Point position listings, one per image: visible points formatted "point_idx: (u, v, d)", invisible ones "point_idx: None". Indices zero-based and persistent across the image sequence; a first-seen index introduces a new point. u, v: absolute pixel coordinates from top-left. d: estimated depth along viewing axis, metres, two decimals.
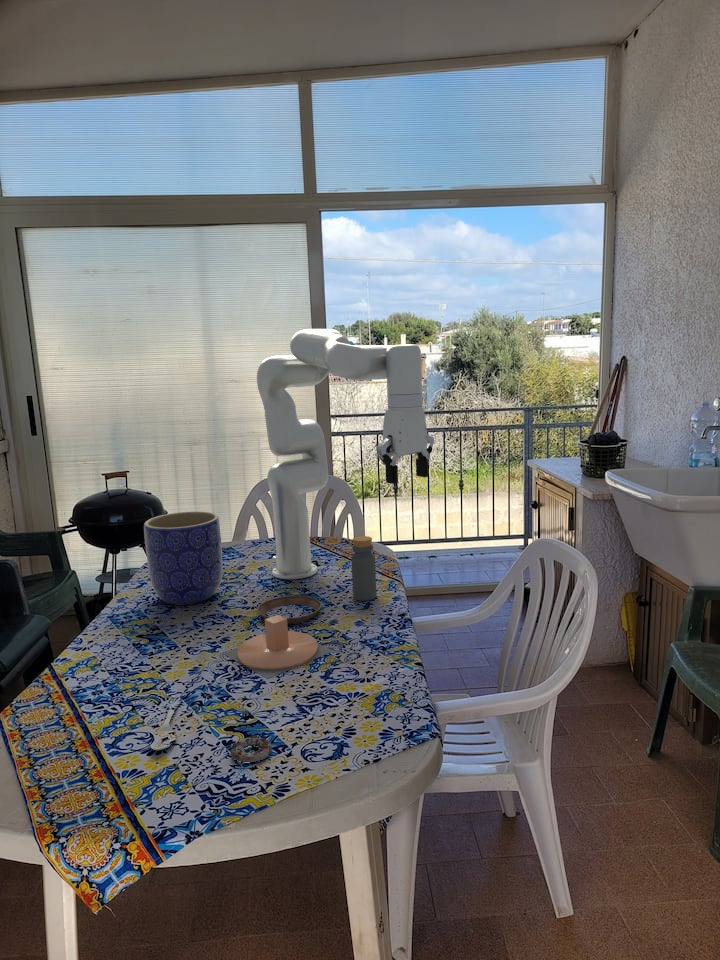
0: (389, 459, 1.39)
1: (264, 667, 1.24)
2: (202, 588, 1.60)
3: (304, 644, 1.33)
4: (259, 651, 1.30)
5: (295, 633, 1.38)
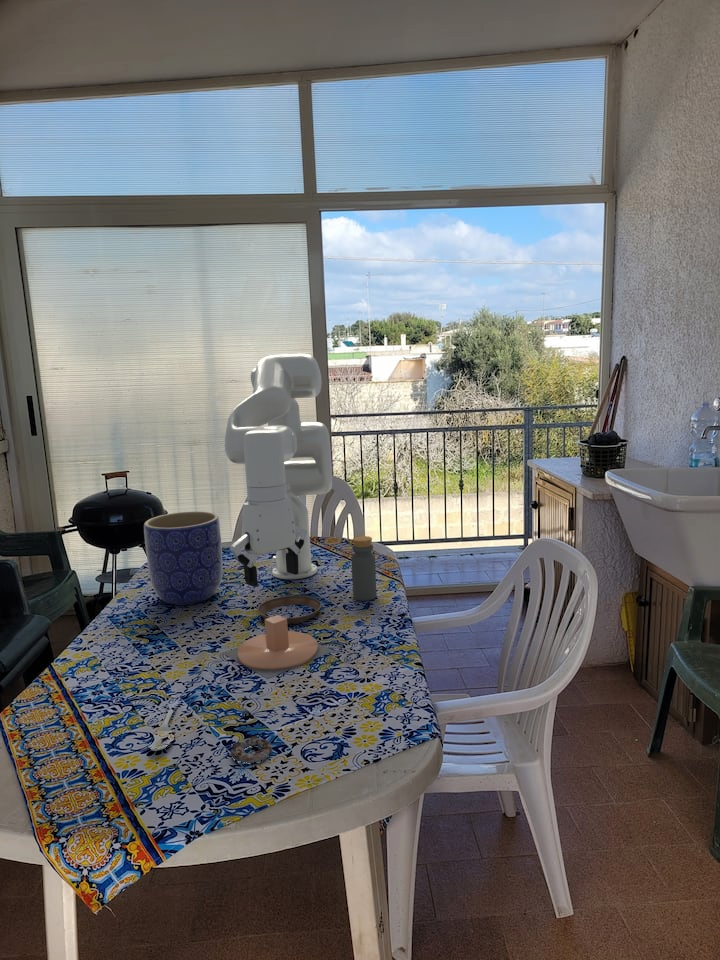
0: (246, 560, 1.23)
1: (264, 667, 1.24)
2: (202, 588, 1.60)
3: (304, 644, 1.33)
4: (259, 651, 1.30)
5: (295, 633, 1.38)
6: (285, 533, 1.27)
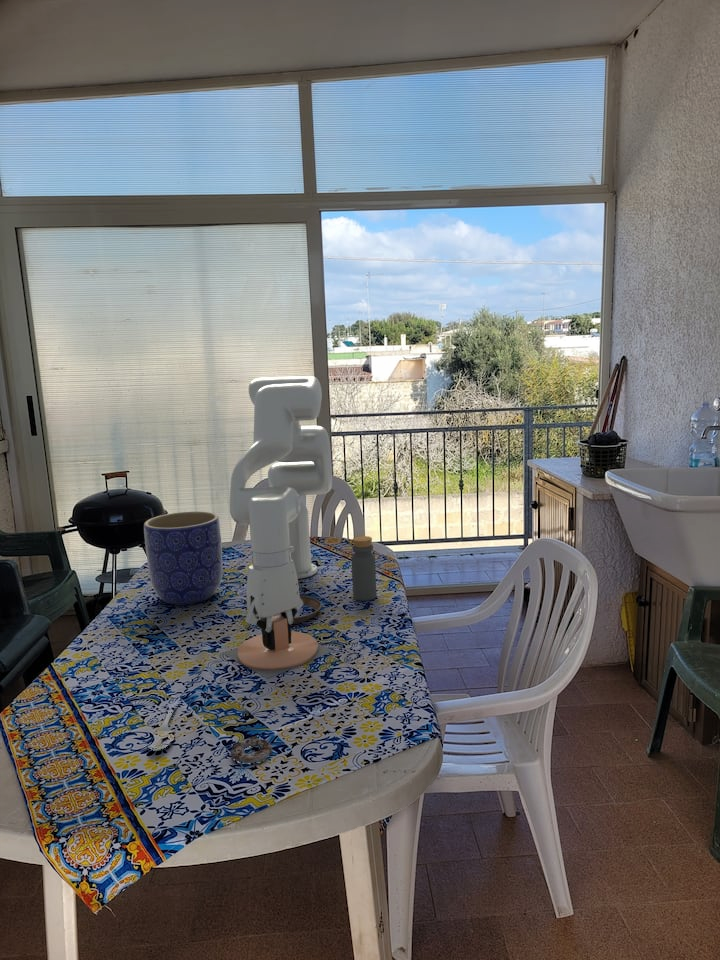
0: (263, 628, 1.28)
1: (264, 667, 1.24)
2: (202, 588, 1.60)
3: (304, 644, 1.33)
4: (259, 651, 1.30)
5: (295, 633, 1.38)
6: (289, 595, 1.29)
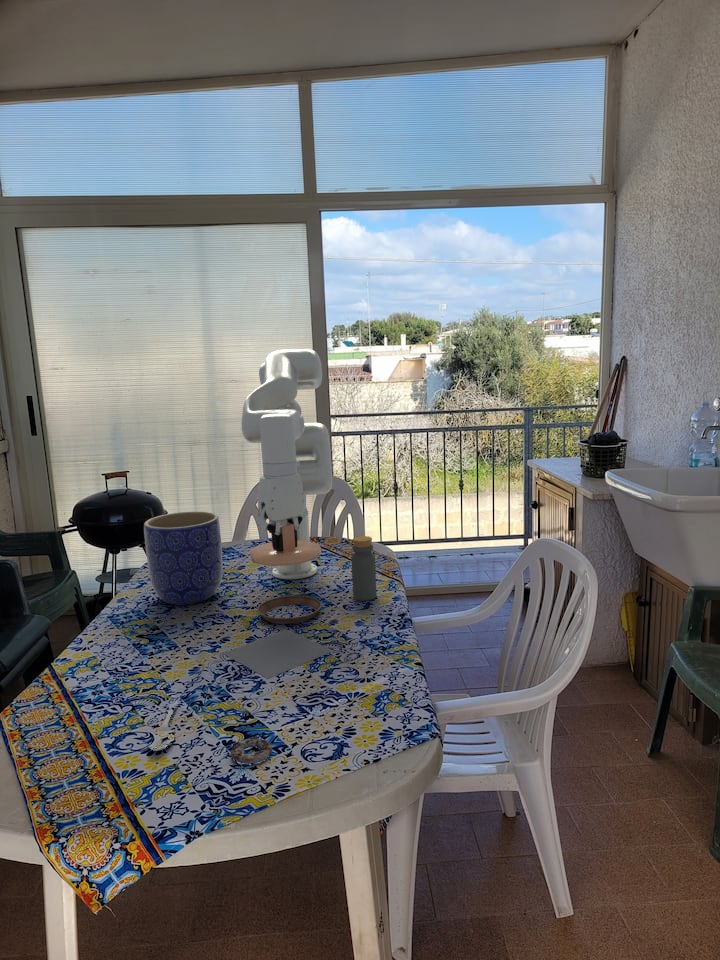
0: (272, 531, 1.45)
1: (274, 563, 1.41)
2: (202, 588, 1.60)
3: (308, 547, 1.50)
4: (269, 553, 1.47)
5: (300, 541, 1.55)
6: (296, 503, 1.46)
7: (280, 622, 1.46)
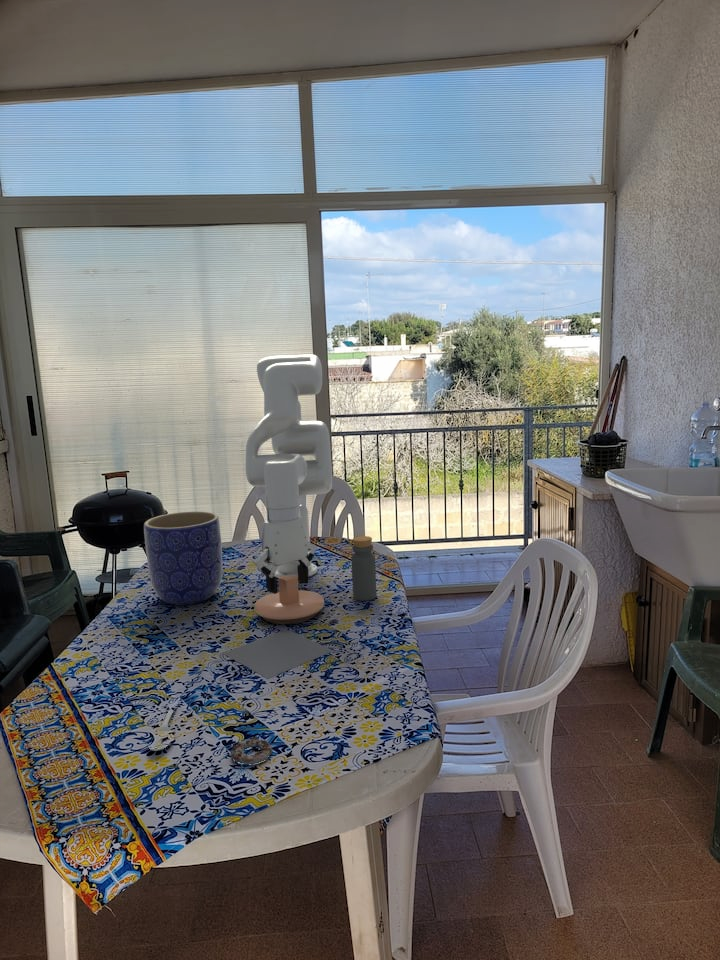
0: (267, 571, 1.46)
1: (278, 617, 1.44)
2: (202, 588, 1.60)
3: (312, 599, 1.53)
4: (273, 605, 1.50)
5: (304, 592, 1.58)
6: (299, 547, 1.49)
7: (280, 622, 1.46)
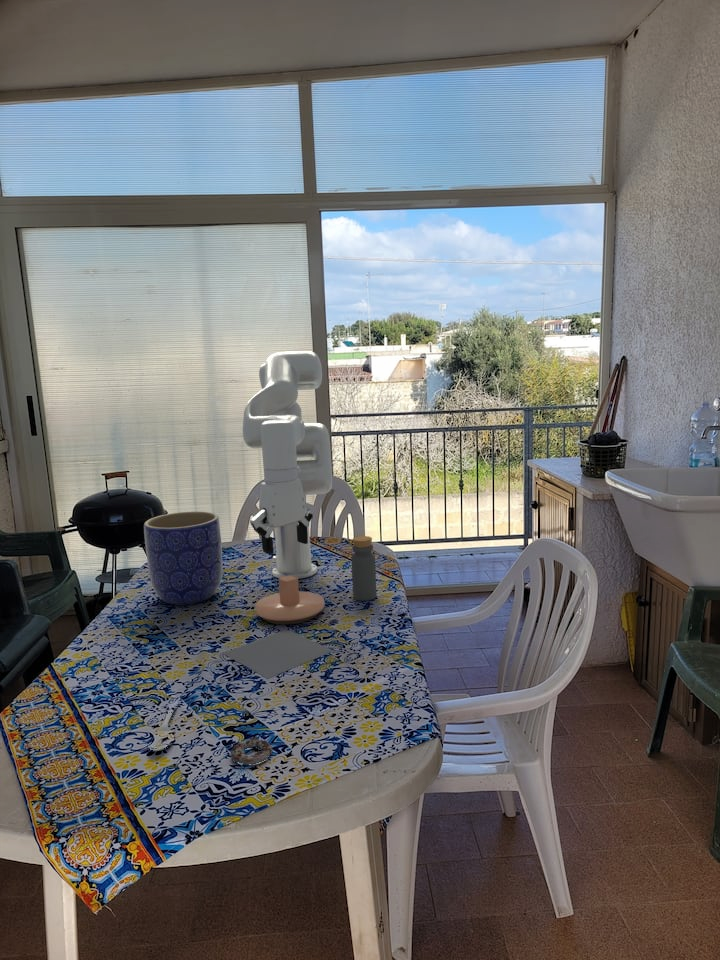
0: (263, 531, 1.44)
1: (279, 618, 1.44)
2: (202, 588, 1.60)
3: (312, 600, 1.53)
4: (274, 606, 1.50)
5: (304, 593, 1.58)
6: (296, 508, 1.48)
7: (280, 623, 1.46)
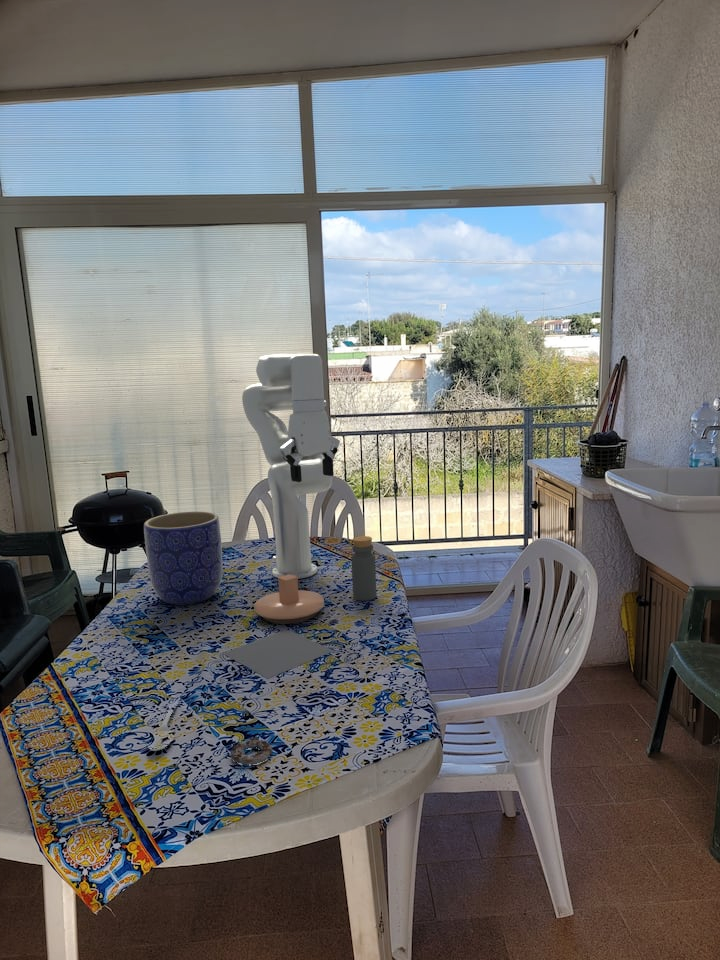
0: (292, 459, 1.52)
1: (277, 616, 1.44)
2: (202, 588, 1.60)
3: (312, 599, 1.53)
4: (273, 605, 1.50)
5: (304, 592, 1.58)
6: (323, 440, 1.56)
7: (280, 622, 1.46)
